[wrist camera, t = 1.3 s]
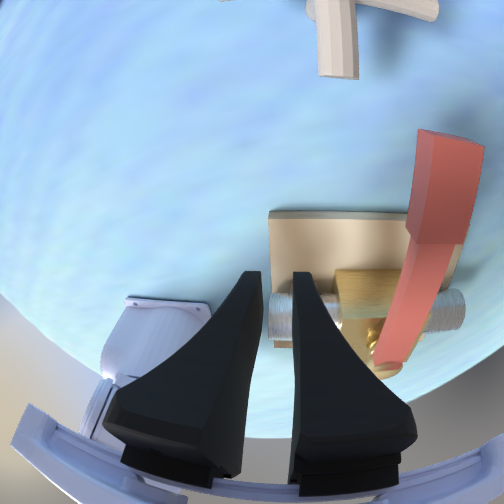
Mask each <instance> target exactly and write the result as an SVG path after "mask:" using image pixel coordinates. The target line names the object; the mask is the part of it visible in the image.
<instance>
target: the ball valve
mask: <svg viewBox="0 0 504 504" xmlns="http://www.w3.org/2000/svg"><path fill="white" fill-rule="evenodd" d="M401 271H402V269H345V270H334V278H333V285H332V293H319V295H320V297H321V299H322V301H323V303H324V305H325V306H326V308H327V310H328V312H329V314H330V316H331V317H332V319H333V321H334V322H335V324H336V325H337V327H338V329H339V330H340V332H341V333H342V335H343V336H344V338H345V339H346V340H347V342H348V343H349V345H350V346H351V347H352V349H353V350H354V351H355V352H356V354H357V355H358V356H359V357H360V359H361V360H362V361H363V362H364V363H365V364H366V365H367V363H366V362H367V359H368V358H369V356H371V355H372V353H373V351H374V349H375V346H376V344H377V341H378V339H379V336H380V334H381V331H382V328H383V326H384V323H385V320H386V318H387V315H388V312H389V309H390V306H391V303H392V300H393V297H394V294H395V291H396V288H397V285H398V282H399V278H400V275H401ZM314 283H315V286H316V288H317V280H314ZM317 290H318V288H317ZM292 300H293V280H291V293H270V298H269V310H268V338H269V340H285V341H292ZM464 317H465V300H464V297H463V295H462V293H461V292H460V290H458V289H456V288H453V289H444V285H443V283H442V284H441V286H440V289H439V291H438V293H437V296H436V298H435V300H434V303H433V305H432V307H431V309H430V312H429V314H428V316H427V318H426V320H425V322H424V324H423V326H422V328H421V330H420V332H419V334H418V336H417V338H416V340H415V342H414V344H413V346H412V348H411V349H410V351H409V353H408V355H407V357H406V358H405V360H404V362H407V360H408V358H409V357H410V355H411V353H412V351H413V349H414V348H415V346H416V344H417V342H418V340H419V338H420V337H421V335H422V334H430V333H438V332H446V331H453V330H457V329H458V328H460V326H461V325H462V323H463V320H464Z"/></svg>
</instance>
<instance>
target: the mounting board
mask: <svg viewBox="0 0 504 504" xmlns="http://www.w3.org/2000/svg"><path fill="white" fill-rule="evenodd" d="M406 219H407V214H405V213H380V212H340V211H269V217H268V224H269V242H270V262H271V283H272V293H291V280H293V272H310V273H311V274H312V277H313V280H317V288H318V292H319V293H332V285H333V278H334V270H345V269H402V268H403V264H404V261H405V257H406V253H407V249H408V245H409V241H410V237H411V235H410V234H409V232H408V231H407V229H406V228H405V224H406ZM469 225H470V224H469ZM468 229H469V226H468ZM467 232H468V230H467ZM466 236H467V233H466ZM466 236H465V239H466ZM464 242H465V240H464ZM463 245H464V243H463V244H455V247H454V250H453V253H452V256H451V259H450V262H449V265H448V268H447V270H446V273H445V276H444V278H443V281H442V283H443V285H444V289H447V288H448V286H449V283H450V281H451V278H452V276H453V273H454V271H455V268H456V265H457V263H458V260H459V257H460V254H461V251H462V248H463ZM424 336H425V334H422V335H421V337H420V338H419V340H418V342H420V341H422V340H423V338H424ZM274 348H293V343H292V341H285V340H274Z"/></svg>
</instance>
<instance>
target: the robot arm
mask: <svg viewBox="0 0 504 504" xmlns="http://www.w3.org/2000/svg"><path fill="white" fill-rule="evenodd" d="M124 303H125V305H126V308H125V310H124V312H123V313H122V315H121V317H120V318H119V320H118V322H117V324H116V325H115V327H114V329H113V331H112V332H111V334H110V336H109V338H108V339H107V341H106V343H105V345H104V347H103V350H102V354H101V361H100V368H101V373H102V376H103V378H104V379H103V380H100V382H99V384H98V386H97V388H96V390H95V392H94V394H93V396H92V398H91V400H90V402H89V405H88V407H87V409H86V412H85V414H84V417H83V419H82V422H81V425H80V428H79V431H80V432H79V434H78V433H76V432H74V431H72V430H70V429H68V428H66V427H65V426H63V425H61V424H59V423H57V421H56V420H54V419H53V418H52V417H50V416H49V415H48V414H46V413H45V412H43V411H42V410H40V409H38V408H37V407H35V406H34V405H32V404H31V403H29V404H28V405H27V407H26V410H25V412H24V414H23V416H22V418H21V420H20V423H19V425H18V427H17V429H16V431H15V434H14V436H13V438H12V441H11V444H10V445H11V447H12V448H13V449H15V450H16V451H17V452H18V453H19V454H20V455H21V456H23V457H24V458H25V459H26V460H27V461H28V462H29V463H31V464H32V465H33V466H34V467H35V468H36V469H37V470H38V471H39V472H41V473H42V474H43V475H44V476H45V477H46V478H47V479H49V480H50V481H51V482H52V483H53V484H54V485H56V486H57V487H58V488H59V489H61V490H62V491H63V492H64V493H66V494H67V495H68V496H70V497H71V498H72V499H74V500H75V501H77V502H78V503H79V504H187V501H188V497H187V496H184V495H180V494H179V493H180V491H181V489H186V490H190V491H195V492H199V493H204V494H209V495H215V496H221V497H228V498H235V499H243V500H252V501H265V502H290V503H291V502H293V503H298V502H299V503H300V502H327V501H339V500H348V499H356V498H363V497H369V496H376V495H377V496H376V497H374V499H373V500H372V501H371V502H367V503H361V504H487V503H489V502H490V501H492V500H493V499H495V498H497V497H498V496H499V495H501V494H503V493H504V433H502V434H500V435H498V436H497V437H495V438H493V439H491V440H489V441H488V442H486V443H485V444H483V445H482V446H481V447H479V448H477V449H475V450H472V451H470V452H468V453H465V454H462V455H460V456H457V457H454V458H452V459H449V460H446V461H443V462H440V463H437V464H433V465H430V466H427V467H423V468H420V469H416V470H412V471H408V472H404V473H400V474H399V473H398V464H400V463H401V452H402V451H403V450H405V449H406V448H408V447H409V446H410V445H412V444H413V443H414V442H415V441H416V439H417V437H418V435H417V428H416V423H415V420H414V417H413V414H412V411H411V408H410V407H409V406H408V405H407V404H406V403H404V402H403V401H402V400H401V399H400V398H398V397H397V396H396V395H395V394H394V393H393V392H392V391H391V390H390V389H389V388H388V387H387V386H386V385H384V384H383V383H382V382H381V381H380V380H379V379H378V378H377V377H376V375H375V374H374V373H373V372H372V371H371V370H370V369H369V368H368V367H367V365H366V364H365V363H364V362H363V361H362V360H361V359H360V357H359V356H358V355H357V354H356V352H355V351H354V350H353V349H352V347H351V346H350V345H349V343H348V342H347V340H346V339H345V338H344V336H343V335H342V333H341V332H340V330H339V329H338V327H337V325H336V324H335V322H334V321H333V319H332V317H331V316H330V314H329V312H328V310H327V308H326V306H325V305H324V303H323V301H322V299H321V297H320V295H319V292H318V290H317V288H316V286H315V283H314V280H313V277H312V274H311V273H310V272H293V300H292V343H293V358H294V374H295V397H294V414H293V429H292V442H291V455H290V465H289V474H288V484H287V485H286V484H265V483H252V482H242V481H234V480H227V479H223V478H230V479H231V478H233V477H235V476H237V475H238V474H240V473H241V465H242V455H243V444H244V435H245V425H246V416H247V407H248V398H249V390H250V383H251V378H252V373H253V368H254V364H255V359H256V355H257V350H258V346H259V341H260V336H261V331H262V320H263V296H262V282H261V271H245V272H244V273H242V275H241V277H240V278H239V280H238V282H237V283H236V285H235V286H234V288H233V289H232V291H231V292H230V294H229V295H228V296H227V298H226V299H225V300H224V302H223V303H222V304H221V306H220V307H219V308H218V309H217V311H216V312H215V313H214V314H213V315H212V316H211V313H210V309H209V306H208V305H207V304H204V303H189V302H174V301H161V300H149V299H137V298H125V300H124Z"/></svg>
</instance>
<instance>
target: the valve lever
mask: <svg viewBox="0 0 504 504" xmlns="http://www.w3.org/2000/svg"><path fill="white" fill-rule="evenodd" d="M483 155H484V146H482V145H480V144H477V143H475V142H473V141H471V140H469V139H467V138H463V137H458V136H454V135H449V134H445V133H440V132H434V131H429V130H423V129H418V135H417V148H416V158H415V167H414V176H413V183H412V190H411V196H410V202H409V208H408V214H407V219H406V224H405V228H406V229H407V231H408V232H409V234H410V235H411V237H410V241H409V245H408V249H407V253H406V257H405V261H404V264H403V268H402V271H401V275H400V278H399V282H398V285H397V288H396V291H395V294H394V297H393V300H392V303H391V306H390V309H389V312H388V315H387V318H386V320H385V323H384V326H383V328H382V331H381V334H380V336H379V339H378V341H377V344H376V346H375V349H374V351H373V353H372V355H371V356H369V358H368V359H367V362H366V363H367V367H368V368H369V369H370V370H371V371H372V372H373V373H374V374H375V375H376V377H377V378H378V379H379V380H382V379H387V378H390V377H392V376H394V375H396V374H397V373H399V372H400V371H401V369H402V367H403V362H404V360H405V358H406V357H407V355H408V353H409V351H410V349H411V348H412V346H413V344H414V342H415V340H416V338H417V336H418V334H419V332H420V330H421V328H422V326H423V324H424V322H425V320H426V318H427V316H428V314H429V312H430V309H431V307H432V305H433V303H434V300H435V298H436V296H437V293H438V291H439V289H440V286H441V284H442V281H443V278H444V276H445V273H446V270H447V268H448V265H449V262H450V259H451V256H452V253H453V250H454V247H455V244H463V243H464V240H465V236H466V233H467V230H468V226H469V223H470V219H471V215H472V211H473V207H474V203H475V199H476V194H477V190H478V185H479V180H480V174H481V168H482V162H483Z"/></svg>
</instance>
